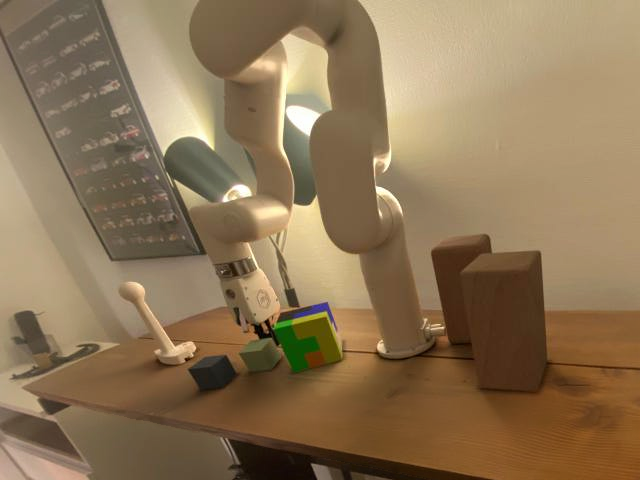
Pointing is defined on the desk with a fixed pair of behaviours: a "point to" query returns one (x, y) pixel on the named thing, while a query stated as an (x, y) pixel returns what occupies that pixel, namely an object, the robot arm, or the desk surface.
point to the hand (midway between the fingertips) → (272, 346)
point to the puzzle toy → (309, 336)
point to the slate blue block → (212, 372)
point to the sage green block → (260, 355)
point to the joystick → (156, 327)
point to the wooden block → (506, 319)
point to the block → (456, 279)
